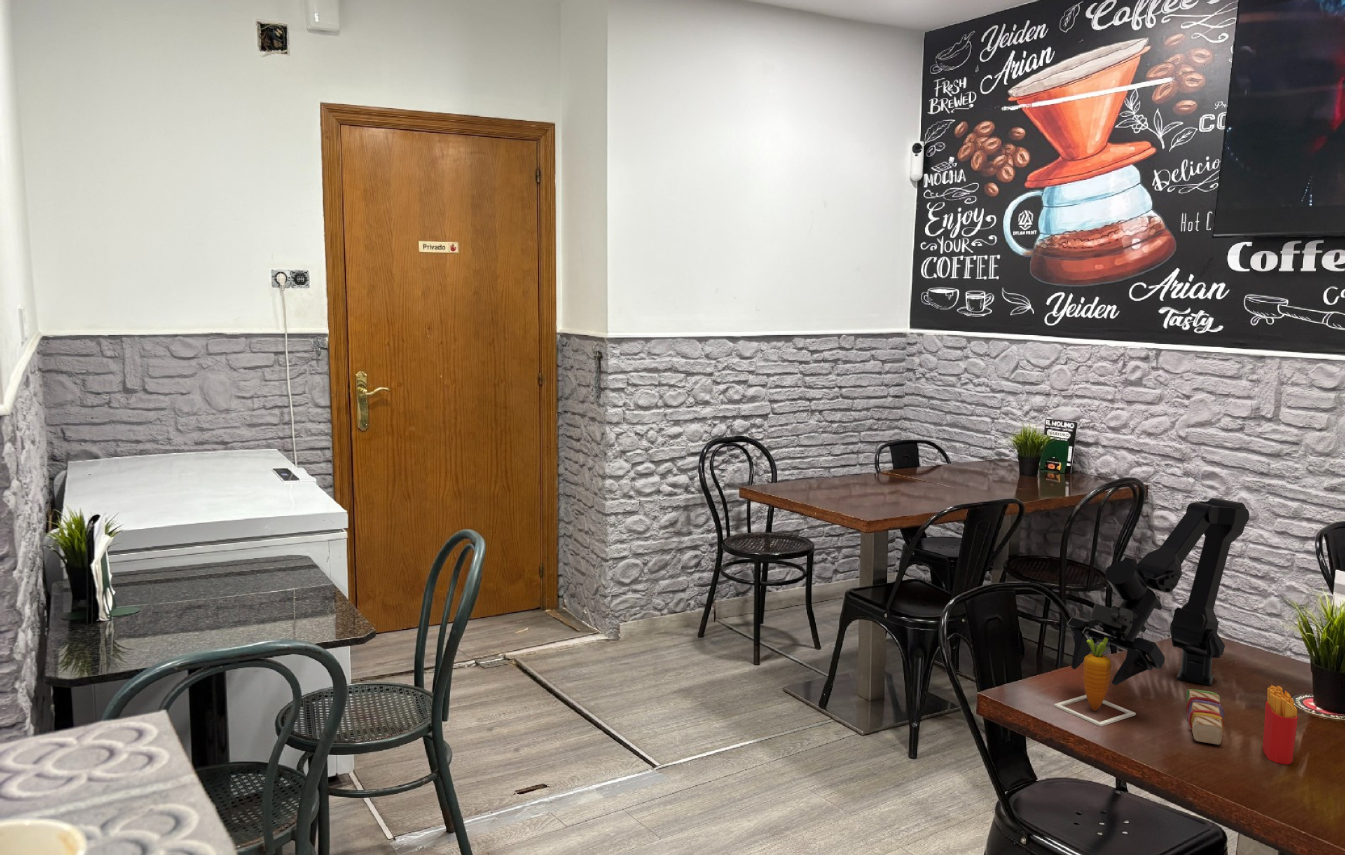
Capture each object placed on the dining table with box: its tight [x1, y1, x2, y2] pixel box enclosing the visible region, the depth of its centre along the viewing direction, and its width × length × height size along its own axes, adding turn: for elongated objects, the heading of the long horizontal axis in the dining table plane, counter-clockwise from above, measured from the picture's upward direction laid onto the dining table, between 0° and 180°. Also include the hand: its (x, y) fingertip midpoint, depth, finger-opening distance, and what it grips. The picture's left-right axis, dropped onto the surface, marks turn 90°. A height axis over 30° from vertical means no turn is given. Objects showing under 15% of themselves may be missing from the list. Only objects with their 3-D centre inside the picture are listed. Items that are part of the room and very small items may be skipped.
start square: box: [1053, 694, 1137, 727], centre depth 190 cm, size 11×11×1 cm
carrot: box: [1083, 637, 1112, 712], centre depth 189 cm, size 5×5×15 cm
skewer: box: [1185, 688, 1226, 745], centre depth 184 cm, size 21×6×5 cm, turn 154°
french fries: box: [1262, 684, 1299, 765], centre depth 171 cm, size 8×4×12 cm, turn 162°
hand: (1092, 676), depth 189 cm, fingers open, 9 cm apart
